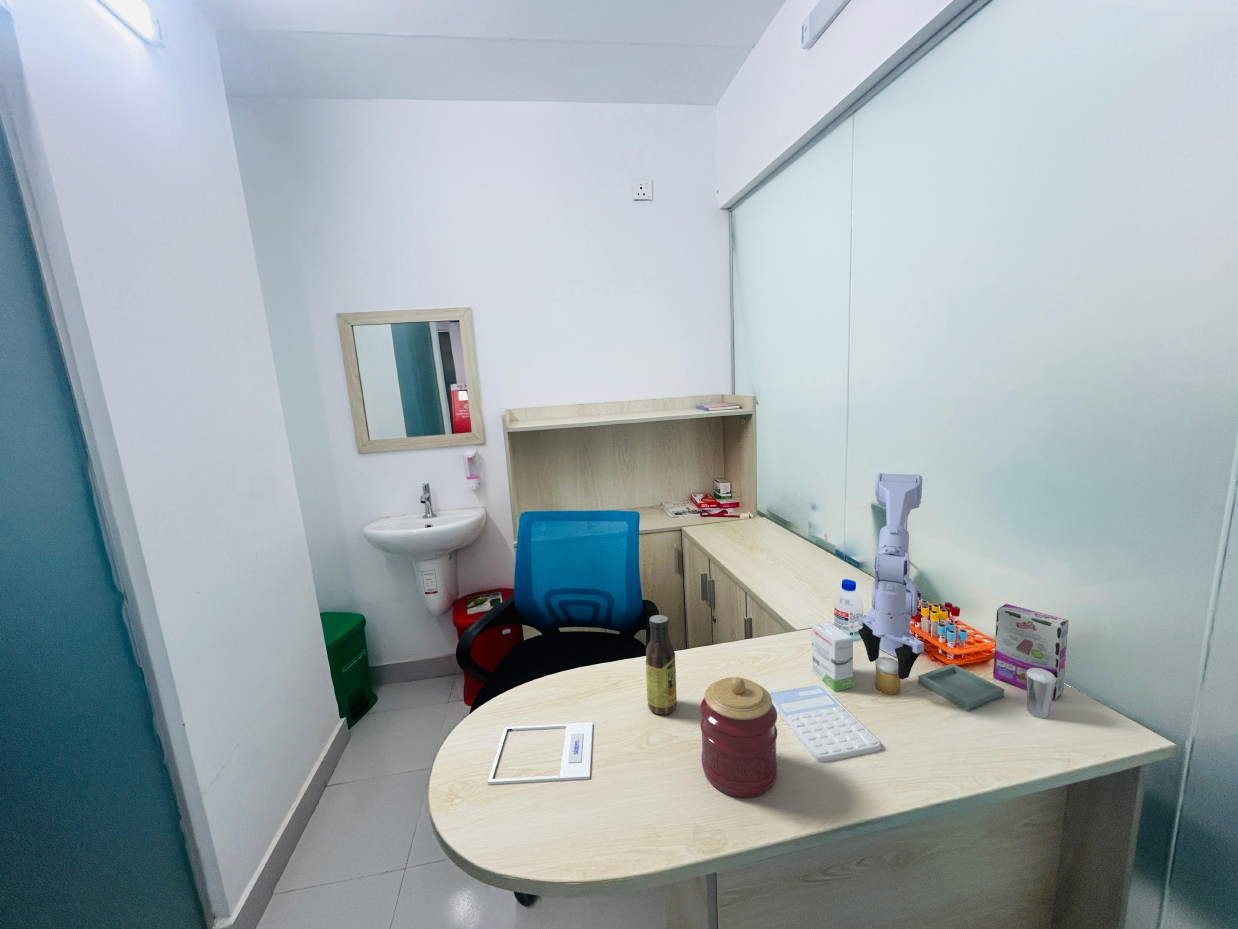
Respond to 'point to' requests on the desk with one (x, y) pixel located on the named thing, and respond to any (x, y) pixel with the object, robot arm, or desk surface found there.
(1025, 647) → the candy bar box
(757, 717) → the canister
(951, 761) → the desk surface
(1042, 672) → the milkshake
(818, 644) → the ink box
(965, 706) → the tray
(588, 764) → the photo frame
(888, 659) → the pill bottle
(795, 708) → the calculator
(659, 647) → the sauce bottle
